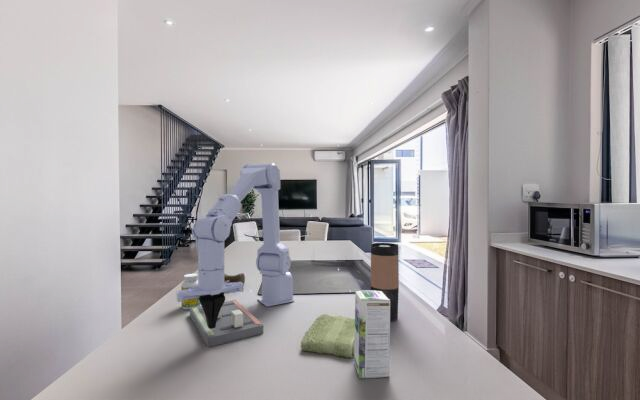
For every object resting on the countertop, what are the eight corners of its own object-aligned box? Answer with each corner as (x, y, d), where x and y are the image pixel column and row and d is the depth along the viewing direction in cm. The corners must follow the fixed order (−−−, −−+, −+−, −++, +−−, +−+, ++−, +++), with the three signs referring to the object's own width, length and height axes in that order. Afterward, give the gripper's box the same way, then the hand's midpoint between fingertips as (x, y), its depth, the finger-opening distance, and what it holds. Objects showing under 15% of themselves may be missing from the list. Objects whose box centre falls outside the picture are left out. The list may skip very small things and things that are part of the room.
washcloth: (367, 327, 79) (367, 315, 79) (356, 362, 62) (356, 347, 62) (318, 321, 83) (318, 309, 83) (295, 353, 66) (295, 338, 66)
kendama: (198, 300, 100) (225, 282, 120) (226, 302, 99) (249, 283, 119) (198, 282, 100) (225, 266, 120) (227, 284, 99) (249, 268, 118)
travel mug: (400, 314, 87) (401, 243, 87) (395, 324, 80) (395, 247, 80) (374, 309, 90) (374, 242, 90) (367, 319, 83) (367, 245, 83)
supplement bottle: (198, 302, 96) (198, 272, 96) (202, 307, 92) (202, 275, 92) (180, 305, 93) (180, 274, 93) (183, 311, 89) (183, 278, 89)
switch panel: (235, 306, 93) (235, 299, 93) (263, 333, 74) (263, 324, 74) (189, 315, 86) (189, 307, 86) (207, 347, 67) (207, 337, 67)
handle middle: (218, 313, 81) (218, 302, 81) (221, 317, 78) (221, 305, 78) (210, 315, 80) (210, 303, 80) (213, 319, 77) (213, 307, 77)
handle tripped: (239, 321, 76) (239, 309, 76) (243, 325, 73) (243, 313, 73) (231, 323, 75) (231, 311, 75) (234, 327, 72) (234, 314, 72)
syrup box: (353, 362, 61) (353, 290, 61) (382, 361, 62) (382, 289, 62) (359, 379, 55) (359, 299, 55) (391, 377, 56) (391, 298, 56)
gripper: (179, 276, 63) (179, 341, 63) (247, 267, 71) (247, 325, 71) (175, 269, 69) (175, 329, 69) (238, 262, 77) (238, 316, 77)
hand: (211, 326), depth 71 cm, fingers closed
